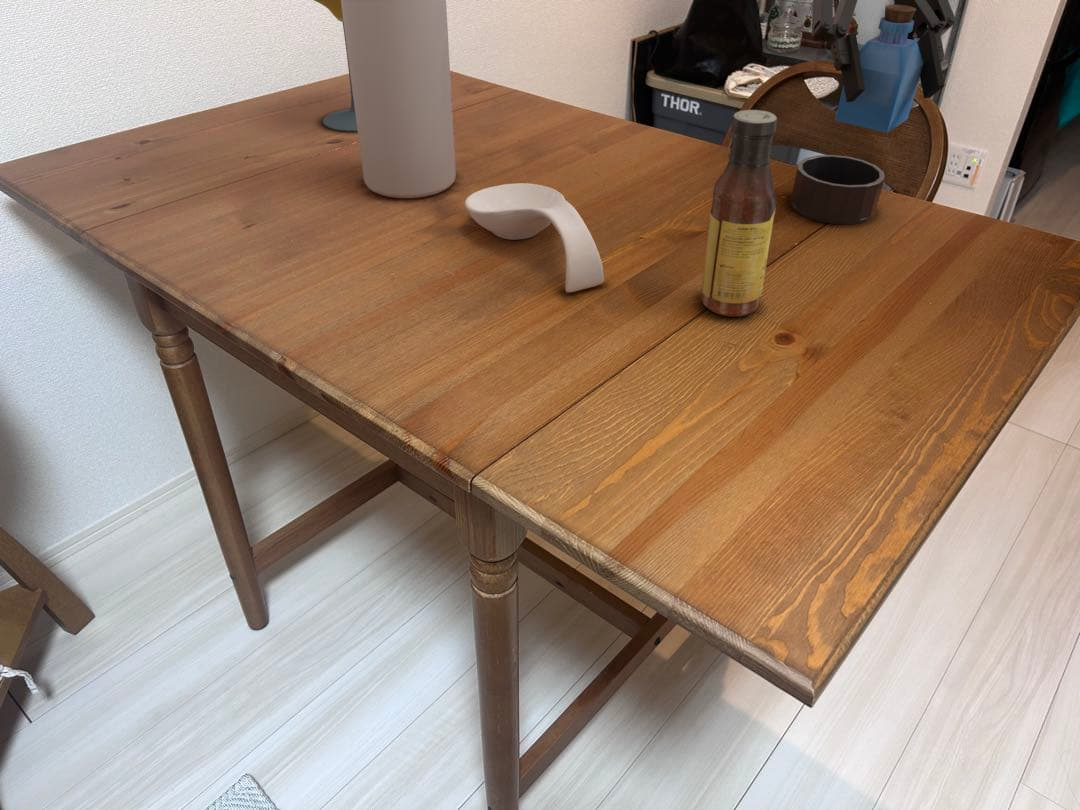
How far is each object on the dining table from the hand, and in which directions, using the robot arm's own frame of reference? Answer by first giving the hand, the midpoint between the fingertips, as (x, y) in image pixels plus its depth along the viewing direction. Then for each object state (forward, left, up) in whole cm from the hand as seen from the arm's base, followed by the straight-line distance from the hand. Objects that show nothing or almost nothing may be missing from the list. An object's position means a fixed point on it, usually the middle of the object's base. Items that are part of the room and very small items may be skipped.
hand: (895, 93), depth 90 cm
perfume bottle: (+1, -3, -4) cm, 5 cm away
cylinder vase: (+59, +1, -17) cm, 61 cm away
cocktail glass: (+77, -20, -17) cm, 81 cm away
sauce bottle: (+14, +22, -17) cm, 31 cm away
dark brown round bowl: (+3, -7, -17) cm, 19 cm away
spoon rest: (+37, +15, -17) cm, 43 cm away
